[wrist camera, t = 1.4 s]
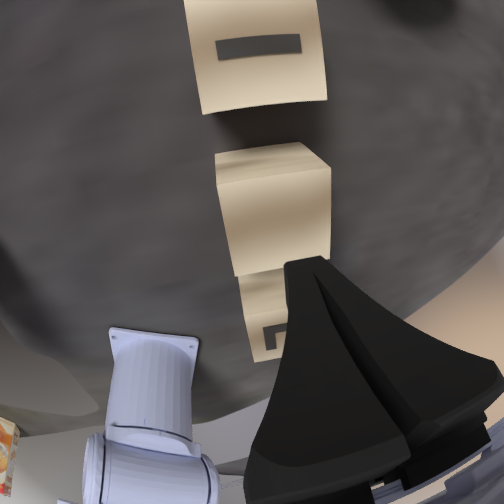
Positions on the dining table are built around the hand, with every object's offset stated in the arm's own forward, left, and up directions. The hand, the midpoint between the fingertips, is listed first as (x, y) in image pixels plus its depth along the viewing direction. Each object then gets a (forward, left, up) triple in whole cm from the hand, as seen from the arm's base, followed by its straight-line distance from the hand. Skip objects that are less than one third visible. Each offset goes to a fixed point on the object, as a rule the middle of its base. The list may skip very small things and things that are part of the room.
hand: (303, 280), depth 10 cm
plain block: (0, 0, -9) cm, 9 cm away
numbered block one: (+7, +3, -9) cm, 12 cm away
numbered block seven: (-8, -3, -9) cm, 12 cm away
